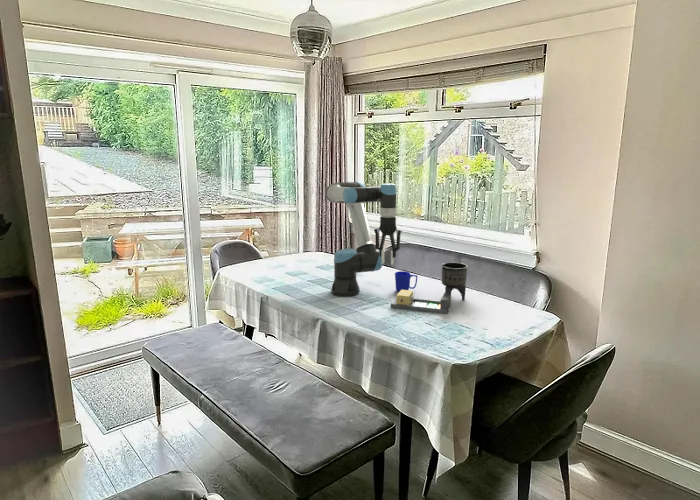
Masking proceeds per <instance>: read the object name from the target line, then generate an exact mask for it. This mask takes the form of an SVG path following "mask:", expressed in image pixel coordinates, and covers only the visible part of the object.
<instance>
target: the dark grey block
mask: <svg viewBox="0 0 700 500" xmlns="http://www.w3.org/2000/svg"><path fill="white" fill-rule="evenodd" d="M440 301H441V309H442V310H447V311H448V309H449V307H450V305H452V292H451V293H449V292H445V291H444V293H443V295H442V297H441V299H440ZM450 308H451V307H450ZM449 310H450V309H449ZM440 311H441V310H440ZM448 312H449V311H448Z"/></svg>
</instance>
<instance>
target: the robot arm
mask: <svg viewBox="0 0 700 500" xmlns="http://www.w3.org/2000/svg"><path fill="white" fill-rule="evenodd" d="M324 195H325V198H326V200H328V201H329V202H331V203H334V204H344V206H345V208H347V209H348V210H349V215H350V219H351V223H352V228H353V232H354V236H355V239H356V240H355V241H356V243H357V248H356V249H355V248H351V247H349V248H347V247H346V248H342V249H340V250H339V249H338V250H337V251H336V252H335V253H334V255H333V256H334V258H333V263H334V265H333V267H334V273H333V274H334V275H333V276H334V279H333V283H332V286H331V289H330V290H331V292H330V293H331V294H332V295H333V296H336V297H345V298H347V297H349V298H350V297H354V296H358V295H359V294H360V285H359V282H358V279H357V274H358V273H367V272H368V273H369V272H371V273H372V272H373V273H374V272H378V271H379V270H381V269H382V267H383V265H384V263H385V249H384V245H385V241H386V237H387V236H389V239H390V240H389V241H390V244H391V249H392V250H391V251H390V265H394V264H395V258H396V257H397V251H400V249H401V248H400V247H401V236H402V235H401V234H402V232H403V230H402V229H399V228H397V225H396V224H397V217H396V215H397V185H396V184H395V183H381V184H380V185H374V186H366V185H365V184H364V182H361V181H350V182H349V181H348V182H347V181H345V182H333V183H331V184H329V185H328V186H327V187H326V189H325V192H324ZM366 203H380V204H379V205H380V206H379V209H380V211H379V212H380V219H379V227H377V228H374V230H373V231H374V235H375V236H374V237H375V243H374V241H373V237H372V233H371V230H370V229H371V228H370V225H369V221H368V217H367V213H366V209H365V205H366ZM380 232H381V239H380ZM395 232H396V240H395V235H394V234H395ZM380 240H381V241H380Z"/></svg>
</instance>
